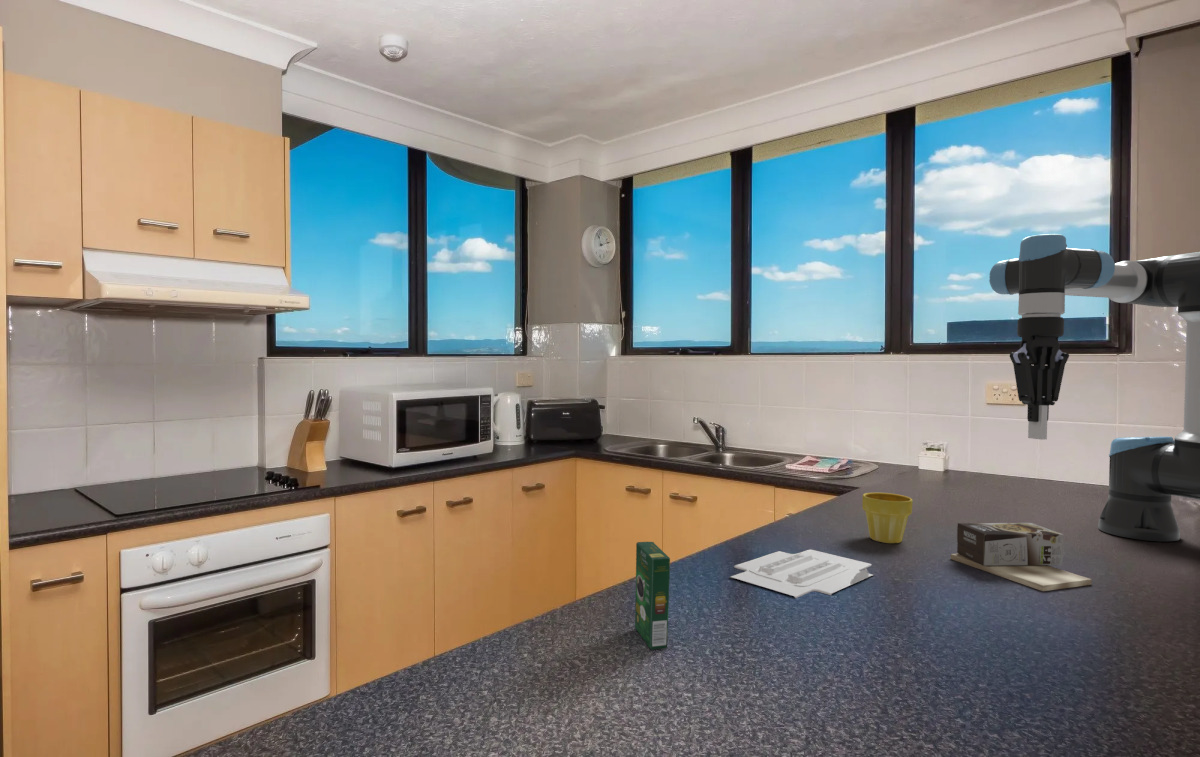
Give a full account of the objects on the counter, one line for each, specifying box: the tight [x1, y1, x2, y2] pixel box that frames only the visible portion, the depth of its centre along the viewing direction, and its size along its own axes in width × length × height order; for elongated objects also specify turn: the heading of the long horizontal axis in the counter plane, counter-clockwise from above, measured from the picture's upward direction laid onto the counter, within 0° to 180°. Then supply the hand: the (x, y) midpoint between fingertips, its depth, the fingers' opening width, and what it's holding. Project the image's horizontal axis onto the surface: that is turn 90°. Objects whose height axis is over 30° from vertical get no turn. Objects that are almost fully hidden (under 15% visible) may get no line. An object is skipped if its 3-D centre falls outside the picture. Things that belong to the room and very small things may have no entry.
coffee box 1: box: [634, 541, 671, 651], centre depth 97 cm, size 8×3×13 cm, turn 13°
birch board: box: [950, 552, 1093, 592], centre depth 131 cm, size 12×20×1 cm, turn 19°
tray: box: [729, 549, 875, 599], centre depth 129 cm, size 20×28×4 cm
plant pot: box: [861, 492, 914, 544], centre depth 153 cm, size 10×10×10 cm
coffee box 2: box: [956, 522, 1065, 566], centre depth 135 cm, size 9×6×16 cm
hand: (1037, 438), depth 132 cm, fingers closed
